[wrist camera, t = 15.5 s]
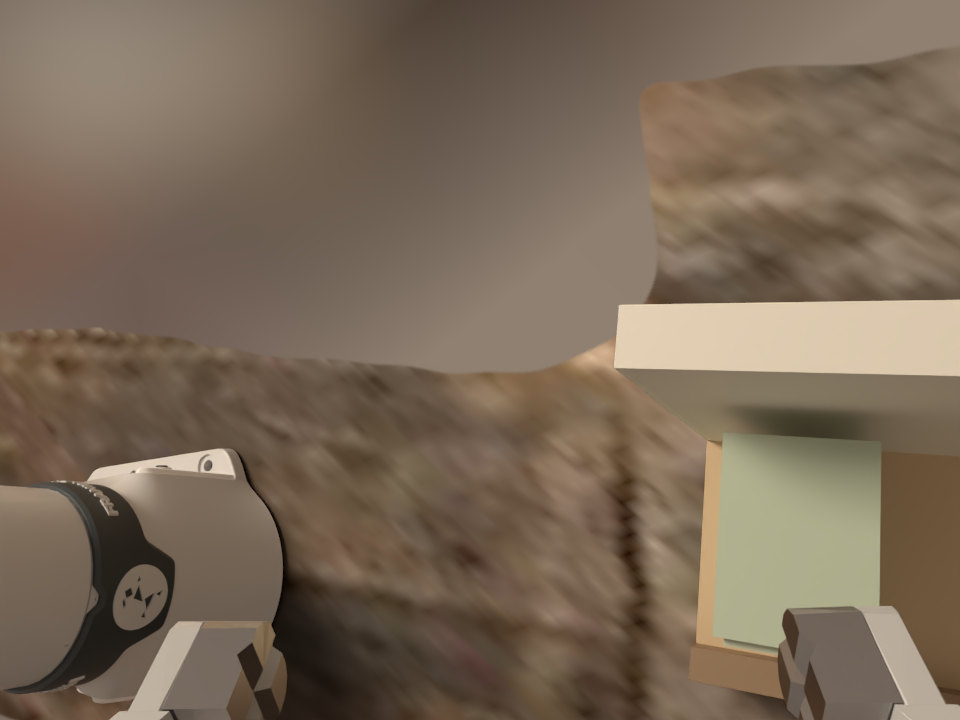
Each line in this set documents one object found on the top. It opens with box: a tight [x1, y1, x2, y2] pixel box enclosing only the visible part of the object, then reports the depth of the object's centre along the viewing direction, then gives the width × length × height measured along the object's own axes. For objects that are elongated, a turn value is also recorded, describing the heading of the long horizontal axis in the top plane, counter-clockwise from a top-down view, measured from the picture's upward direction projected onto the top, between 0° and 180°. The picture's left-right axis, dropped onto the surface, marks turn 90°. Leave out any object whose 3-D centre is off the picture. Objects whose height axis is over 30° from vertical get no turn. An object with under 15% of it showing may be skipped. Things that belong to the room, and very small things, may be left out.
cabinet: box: [713, 432, 881, 655], centre depth 30 cm, size 5×8×12 cm, turn 172°
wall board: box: [614, 300, 960, 706], centre depth 27 cm, size 20×14×22 cm
